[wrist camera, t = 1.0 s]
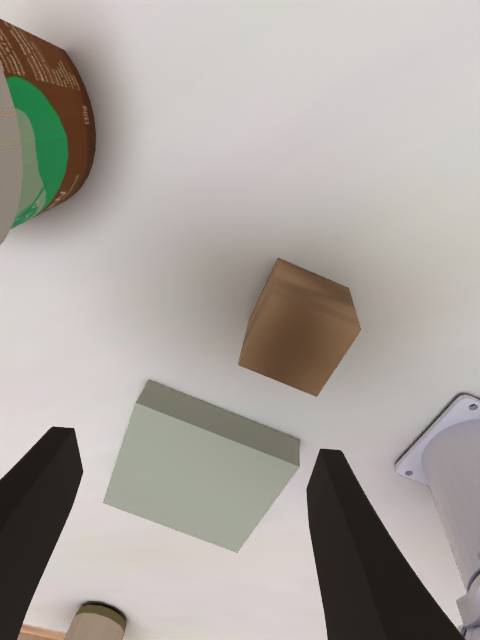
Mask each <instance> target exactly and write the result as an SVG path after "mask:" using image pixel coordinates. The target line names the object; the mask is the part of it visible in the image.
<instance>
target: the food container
mask: <svg viewBox="0 0 480 640" xmlns="http://www.w3.org/2000/svg"><path fill="white" fill-rule="evenodd" d="M95 143H96V132H95V122H94V116H93V112H92V107H91V103H90V100H89V97H88V94H87V91H86V89H85V86H84V83H83V81H82V79H81V77H80V75H79V73H78V71H77V69H76V67H75V66H74V64H73V63H72V61H71V60H70V58H69V57H68V55H67V54H66V52H65V50H63V49H61V48H59V47H57V46H55V45H53V44H51V43H49V42H47V41H45V40H43V39H41V38H38V37H36V36H34V35H32V34H30V33H28V32H26V31H24V30H22V29H20V28H18V27H16V26H14V25H12V24H10V23H8V22H6V21H4V20H2V19H0V245H1V243H2V242H3V241H4V240H5V238H6V236H7V234H8V232H9V230H10V229H11V228H13V227H15V226H17V225H19V224H21V223H23V222H25V221H27V220H29V219H31V218H33V217H35V216H37V215H39V214H41V213H43V212H45V211H47V210H48V209H50V208H52V207H54V206H56V205H58V204H60V203H62V202H64V201H66V200H67V199H69V198H70V197H71V196H73V195H74V194H75V193H76V192H77V191H78V190H79V189H80V188H81V187H82V185H83V184H84V182H85V180H86V179H87V177H88V175H89V172H90V170H91V167H92V164H93V159H94V154H95Z"/></svg>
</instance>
